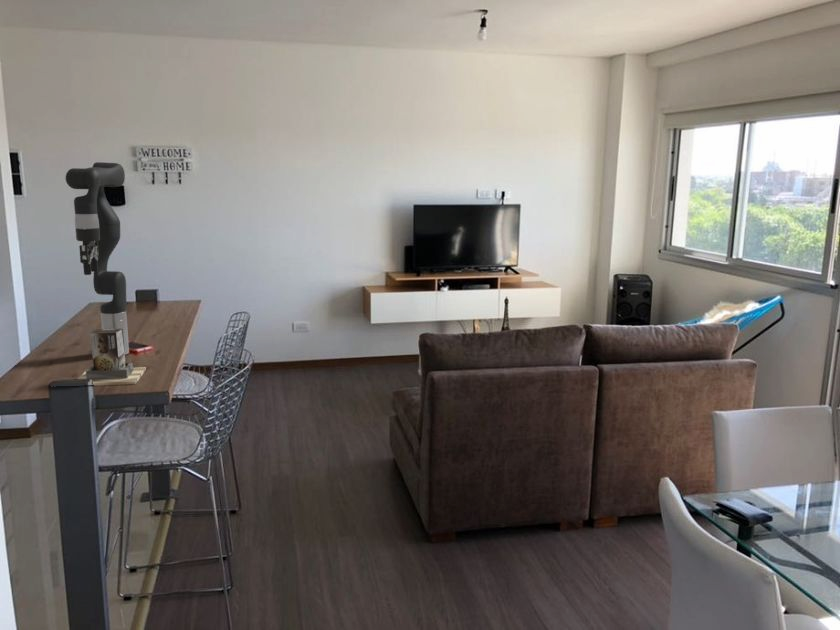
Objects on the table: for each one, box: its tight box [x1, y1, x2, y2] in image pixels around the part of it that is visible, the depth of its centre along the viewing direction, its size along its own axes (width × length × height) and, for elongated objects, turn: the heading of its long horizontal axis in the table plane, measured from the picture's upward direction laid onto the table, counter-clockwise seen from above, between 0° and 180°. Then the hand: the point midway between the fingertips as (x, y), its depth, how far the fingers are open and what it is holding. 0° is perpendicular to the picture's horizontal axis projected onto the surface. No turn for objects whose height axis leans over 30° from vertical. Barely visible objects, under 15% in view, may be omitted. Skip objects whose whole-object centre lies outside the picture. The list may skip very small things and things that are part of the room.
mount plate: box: [77, 362, 147, 387], centre depth 236 cm, size 18×20×4 cm
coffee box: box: [89, 328, 127, 370], centre depth 235 cm, size 9×6×16 cm
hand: (91, 273), depth 237 cm, fingers open, 8 cm apart
